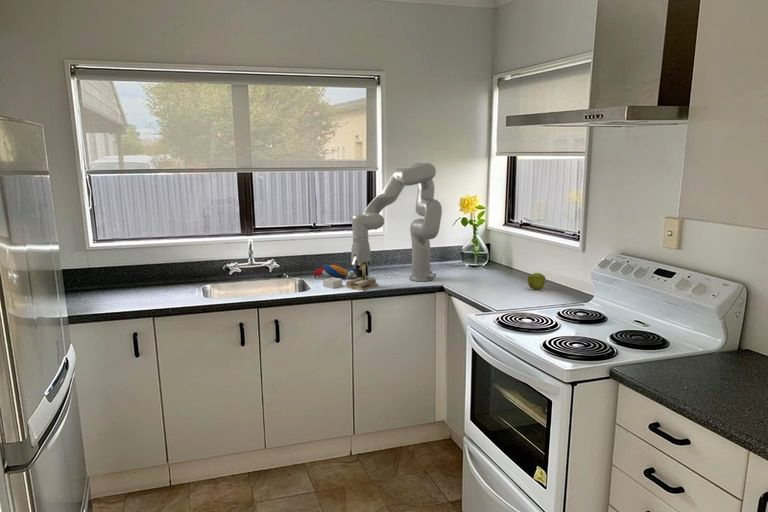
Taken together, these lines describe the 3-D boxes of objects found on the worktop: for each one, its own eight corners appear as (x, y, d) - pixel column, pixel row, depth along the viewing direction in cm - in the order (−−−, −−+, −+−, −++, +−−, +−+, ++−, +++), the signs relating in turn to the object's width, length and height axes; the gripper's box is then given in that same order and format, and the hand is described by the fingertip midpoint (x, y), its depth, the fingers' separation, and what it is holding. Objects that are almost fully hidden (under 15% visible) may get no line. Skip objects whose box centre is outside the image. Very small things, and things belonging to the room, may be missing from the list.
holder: (342, 285, 284) (342, 279, 283) (333, 288, 278) (333, 281, 278) (332, 284, 288) (332, 277, 287) (323, 286, 283) (323, 279, 282)
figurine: (309, 286, 291) (366, 284, 286) (308, 270, 290) (365, 267, 284) (323, 275, 317) (376, 273, 312) (322, 260, 316) (375, 258, 310)
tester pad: (368, 282, 282) (368, 281, 282) (360, 284, 277) (360, 283, 277) (361, 281, 285) (361, 280, 285) (353, 283, 280) (353, 282, 280)
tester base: (378, 285, 282) (378, 279, 282) (362, 290, 273) (362, 284, 272) (362, 283, 289) (361, 277, 288) (346, 287, 279) (346, 281, 279)
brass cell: (367, 277, 281) (366, 262, 280) (362, 278, 278) (362, 263, 277) (361, 276, 283) (361, 261, 282) (357, 277, 281) (356, 262, 279)
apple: (546, 291, 266) (547, 275, 265) (526, 290, 269) (527, 274, 267) (546, 288, 273) (547, 271, 272) (527, 287, 276) (528, 271, 274)
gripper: (365, 236, 286) (367, 272, 289) (343, 242, 273) (345, 279, 277) (377, 237, 281) (378, 273, 285) (355, 243, 268) (357, 280, 272)
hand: (362, 275), depth 281 cm, fingers closed on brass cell, 3 cm apart
